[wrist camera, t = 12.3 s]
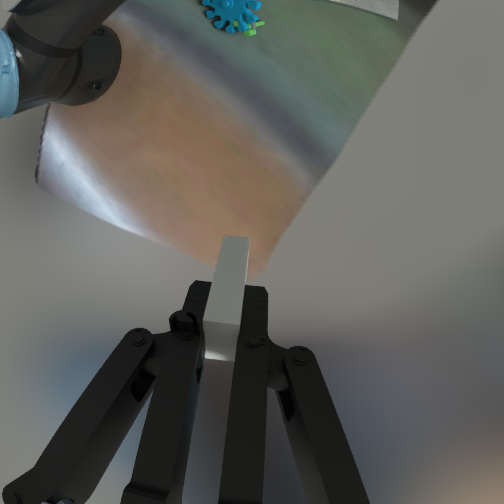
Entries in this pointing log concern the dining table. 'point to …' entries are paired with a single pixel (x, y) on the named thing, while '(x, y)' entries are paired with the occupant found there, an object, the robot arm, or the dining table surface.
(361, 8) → the white square base plate
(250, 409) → the robot arm
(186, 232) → the dining table surface
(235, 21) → the gear
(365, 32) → the dining table surface
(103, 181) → the dining table surface
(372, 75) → the dining table surface
